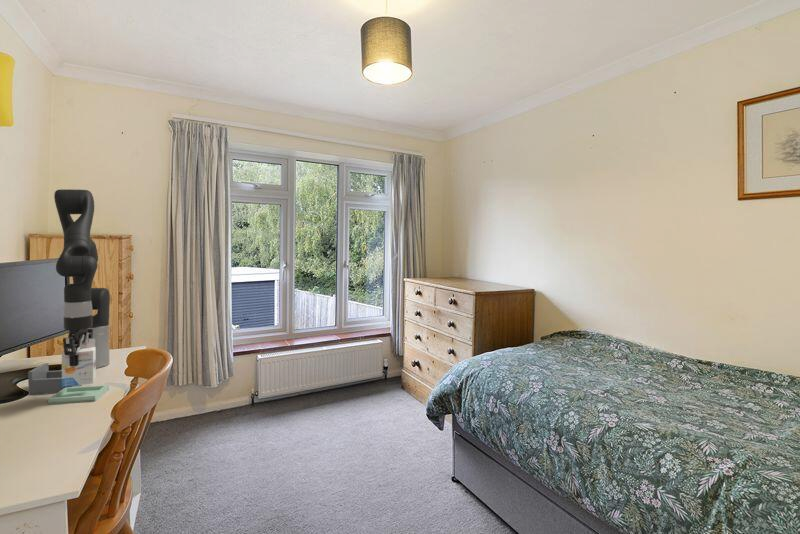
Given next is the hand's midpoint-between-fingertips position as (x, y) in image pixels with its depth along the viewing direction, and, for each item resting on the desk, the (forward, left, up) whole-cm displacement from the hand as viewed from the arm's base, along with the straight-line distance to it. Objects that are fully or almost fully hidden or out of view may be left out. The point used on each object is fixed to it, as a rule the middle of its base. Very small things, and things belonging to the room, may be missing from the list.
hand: (79, 362), depth 129 cm
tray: (0, 0, -12) cm, 12 cm away
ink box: (0, 0, -7) cm, 7 cm away
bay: (-10, -11, -12) cm, 19 cm away
